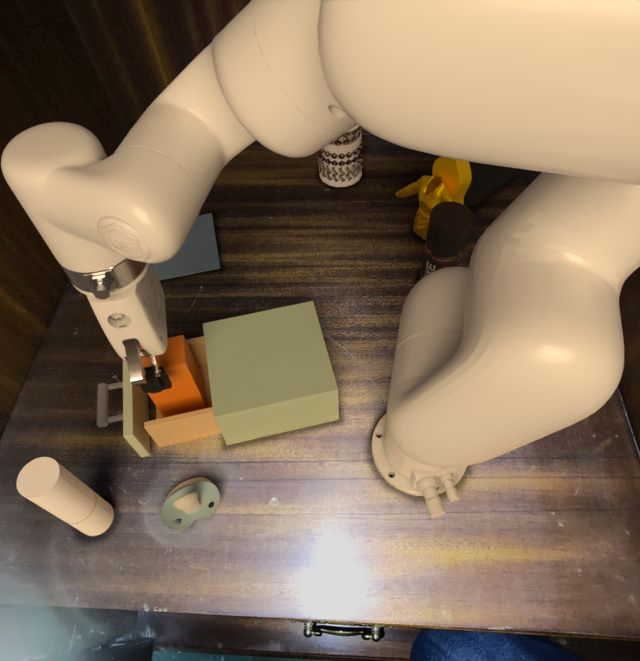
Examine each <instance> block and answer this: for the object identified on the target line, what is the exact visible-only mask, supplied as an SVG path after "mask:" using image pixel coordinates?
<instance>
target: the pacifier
mask: <svg viewBox="0 0 640 661" xmlns="http://www.w3.org/2000/svg"><path fill="white" fill-rule="evenodd" d="M212 502H213V506H212V507H210V506H209V505H210V503H212ZM220 504H221V493H220V490H219V488H218V487H217V486H216V485H215V484H214V483H213V482H212V480H210V479H208V478H205V477H192V478H189V479H186V480H184V481H182V482H181V483H179V484H177V485H176V486H174V488H172V489H171V490H170V492H169V493H167V496H166V497H165V500H164V503H163V505H162V508H161V510H160V517H161V518H160V519H161V521H162V523H163V524H164V526H166V527H167V528H168V529H170V530H173V531H182V530H185V529H187V528H189V527H190V526H191V525H193V524H194V523H195V521H196V520H198V519H207V518H210V517H211V516H212V515H214V514H215V513H216V512H217V511H218V509H219V507H220ZM179 519H180V520H181V522H180V523H175V522H176V520H179Z"/></svg>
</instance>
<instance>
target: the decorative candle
mask: <svg viewBox="0 0 640 661" xmlns="http://www.w3.org/2000/svg"><path fill="white" fill-rule="evenodd" d="M362 135H363V134H362V127H361V126H360V125H358V124H357V125H356V126H354V127H353V128H352V129H350V130H349V131H347V132H346V133H344V134H343V135H341V136H340V137H338V138H337V139H335V140H334V141H332V142H331V143H329V144H328V145H327V146H325V147H324V148H322V149H321V150H319V151H317V152H318V153H317V160H318V161H317V164H318V172H319V178H320V180H321V181H322V182H323V183H324V184H325V185H327V186H330V187H334V188H346V187H349V186H352V185H355V184H356V183H357V182H360V179H361V178H362V176H363V171H362V169H363V167H364V166H363V165H362V163H363V162H364V159H363V158H362V157H363V154H364V151H363V147H364V142H363V141H364V140H363V138H362V137H363V136H362Z"/></svg>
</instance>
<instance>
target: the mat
mask: <svg viewBox="0 0 640 661" xmlns="http://www.w3.org/2000/svg"><path fill="white" fill-rule="evenodd" d="M215 230H216V229H215V224H214V217H213V213H212V212H209V213H205V214H198V216H197V218H196V220H195V222H194V224H193V226H192V228H191V230H190V232H189V234H188V236H187V238H186V240H185V241H184V243H183V245H182V247H181V248H180V250H179V251H178V252H177V253H176V255H174V256H173V257H172V258H171V259H169V260H167V261H165V262H161V263H151V265H152V267H153V269H154V271H155V273H156V275H157V277H158V279H159V281H160V282H161V281H165V280H170V279H174V278H181V277H184V276H190V275H195V274H200V273H205V272H211V271H215V270H221V261H220V255H219V249H218V242H217V237H216V231H215Z"/></svg>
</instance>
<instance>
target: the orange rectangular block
mask: <svg viewBox="0 0 640 661" xmlns="http://www.w3.org/2000/svg"><path fill="white" fill-rule="evenodd" d="M186 340H187V339H186V338H185V336H184V334H181V335H177V336H172V337H167V341H168V345H167V349H166V351H165V353H164V354H161V355H157V358H158V362H159V366H162V367H164V369H165V371H166V373H167V375H168V377H169V379H170V381H171V383H172V388H170V389H166V390H163V391H161V392H159V393H148V397H149V398H150V399H151V401H152V402H153V404H154V405H155V408H156V407H157V408H158V410H159V411H160V413H161V414H162V416H163V417H164V418H165V417H169V416H174V415H178V414H183V413H187V412H192V411H196V410H201V409H205V408H207V400H206V391H205V382H204V379H203V377H202V375H201V373H200V371H199V368H198V366H197V364H196V362H195V360H194V357H193V355H192V353H191V351H190V349H189V346H188V344H187V342H186ZM140 349H141V350H142V349H143V348H142V347H141V345H140ZM142 361H143V367H149V366H152V364H151V360H150V357H149V356H147V357H142Z"/></svg>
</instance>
